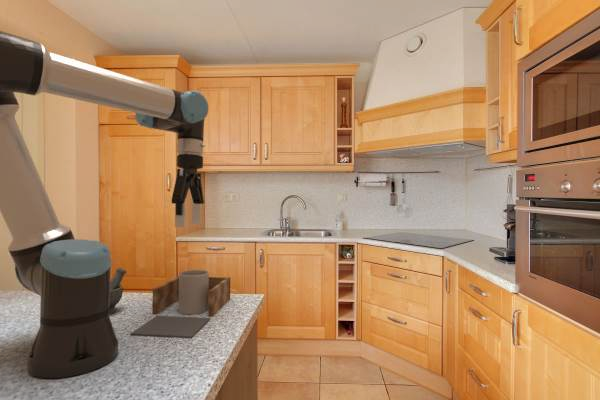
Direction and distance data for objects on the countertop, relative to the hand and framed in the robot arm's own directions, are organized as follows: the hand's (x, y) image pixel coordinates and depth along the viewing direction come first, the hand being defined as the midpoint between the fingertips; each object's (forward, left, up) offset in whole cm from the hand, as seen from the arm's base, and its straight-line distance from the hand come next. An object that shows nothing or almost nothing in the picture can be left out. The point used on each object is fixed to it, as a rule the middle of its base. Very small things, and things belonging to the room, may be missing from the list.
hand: (188, 225), depth 105 cm
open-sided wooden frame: (+2, -1, -25) cm, 25 cm away
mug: (-1, -1, -25) cm, 25 cm away
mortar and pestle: (-7, +21, -25) cm, 33 cm away
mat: (-16, -3, -25) cm, 29 cm away
